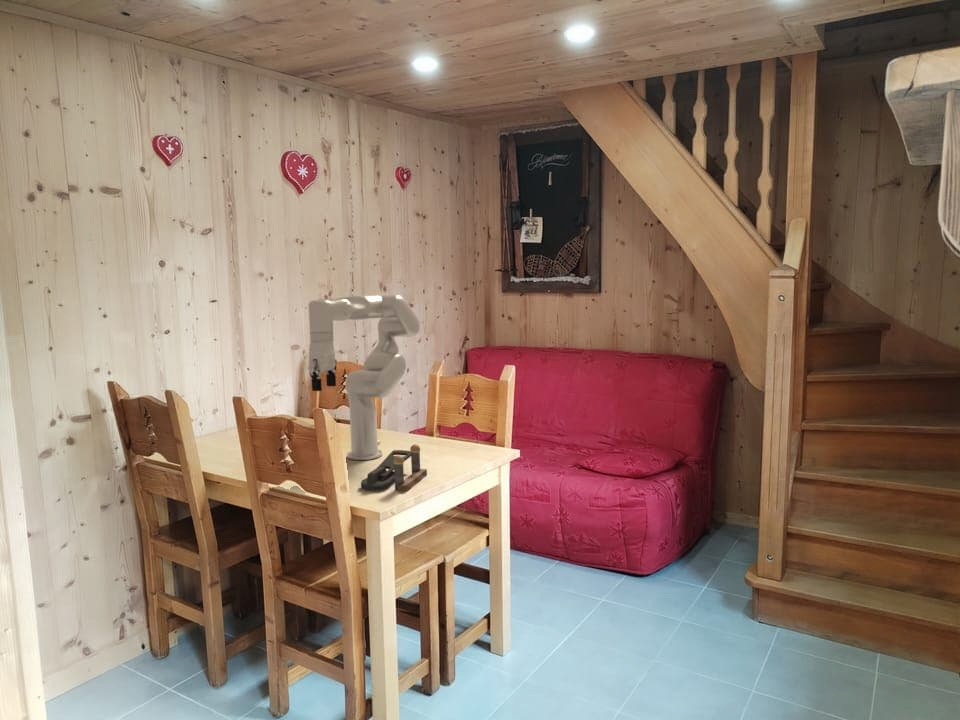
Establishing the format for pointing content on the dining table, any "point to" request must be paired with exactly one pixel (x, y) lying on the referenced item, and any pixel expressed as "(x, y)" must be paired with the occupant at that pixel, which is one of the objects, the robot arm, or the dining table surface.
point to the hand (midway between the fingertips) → (324, 388)
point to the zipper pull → (383, 473)
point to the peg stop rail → (416, 474)
